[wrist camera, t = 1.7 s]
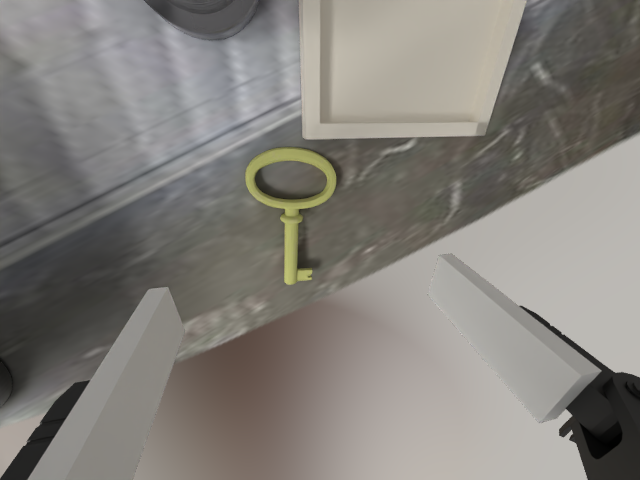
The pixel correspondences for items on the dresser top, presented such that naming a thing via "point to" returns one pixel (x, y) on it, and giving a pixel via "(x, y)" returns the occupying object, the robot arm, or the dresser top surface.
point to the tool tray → (403, 66)
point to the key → (291, 201)
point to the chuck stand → (206, 16)
